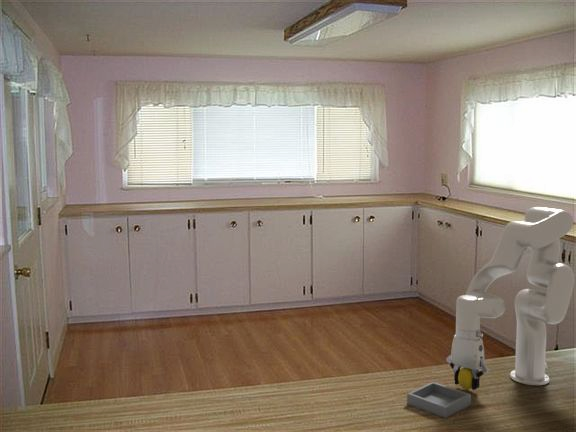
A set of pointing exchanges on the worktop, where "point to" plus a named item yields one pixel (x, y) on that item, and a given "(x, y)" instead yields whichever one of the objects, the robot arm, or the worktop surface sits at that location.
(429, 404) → the box
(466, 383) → the lemon
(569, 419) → the worktop surface
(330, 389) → the worktop surface
